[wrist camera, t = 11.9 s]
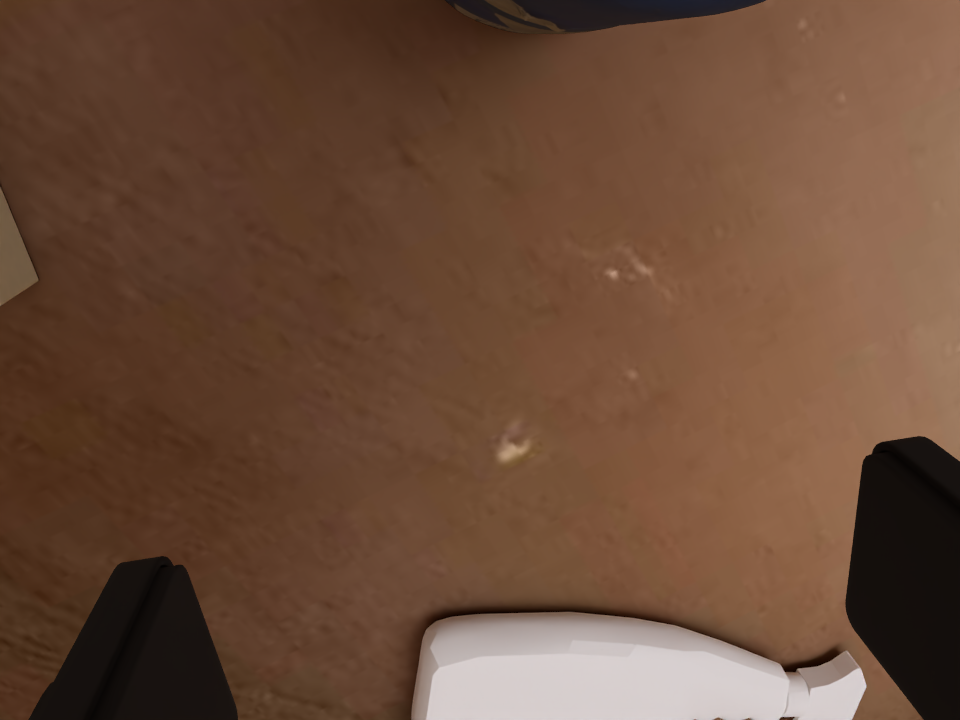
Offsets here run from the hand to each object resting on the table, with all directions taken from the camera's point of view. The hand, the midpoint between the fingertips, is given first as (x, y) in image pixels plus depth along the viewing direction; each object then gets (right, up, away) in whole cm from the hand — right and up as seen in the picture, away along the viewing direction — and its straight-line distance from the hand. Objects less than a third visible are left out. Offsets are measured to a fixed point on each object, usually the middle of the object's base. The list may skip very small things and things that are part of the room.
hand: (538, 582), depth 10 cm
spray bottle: (+8, -14, +30) cm, 34 cm away
